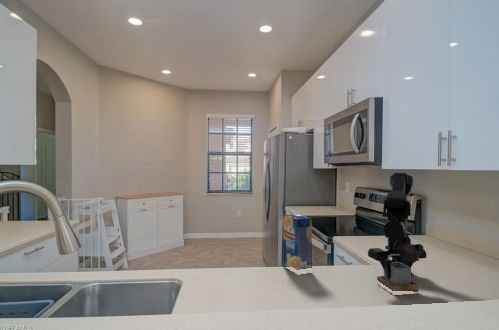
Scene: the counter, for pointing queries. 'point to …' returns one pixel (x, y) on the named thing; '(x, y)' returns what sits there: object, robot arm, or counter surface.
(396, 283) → the grey plastic crate
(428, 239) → the counter surface
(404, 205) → the robot arm
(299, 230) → the blue cardboard box
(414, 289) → the walnut crate
